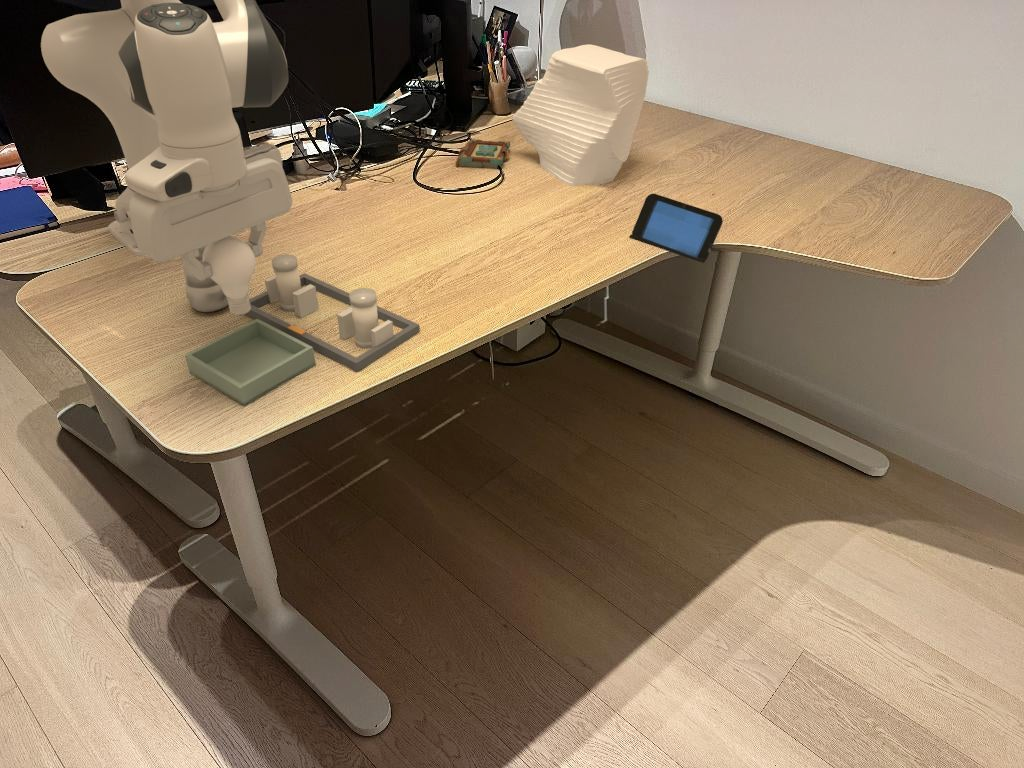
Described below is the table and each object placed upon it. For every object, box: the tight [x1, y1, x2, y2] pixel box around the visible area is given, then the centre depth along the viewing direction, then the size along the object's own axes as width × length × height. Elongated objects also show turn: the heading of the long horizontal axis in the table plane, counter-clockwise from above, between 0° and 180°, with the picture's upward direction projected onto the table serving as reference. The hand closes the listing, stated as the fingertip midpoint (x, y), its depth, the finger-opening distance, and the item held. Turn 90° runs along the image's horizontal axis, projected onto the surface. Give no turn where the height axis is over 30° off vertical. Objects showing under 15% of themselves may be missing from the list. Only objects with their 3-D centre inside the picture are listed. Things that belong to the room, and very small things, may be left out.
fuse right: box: [349, 287, 380, 349], centre depth 109 cm, size 4×4×8 cm
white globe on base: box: [270, 253, 302, 312], centre depth 117 cm, size 4×4×8 cm
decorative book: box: [455, 137, 511, 169], centre depth 169 cm, size 13×18×5 cm
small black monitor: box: [628, 193, 724, 264], centre depth 132 cm, size 16×13×9 cm
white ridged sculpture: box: [511, 43, 649, 187], centre depth 161 cm, size 21×27×26 cm
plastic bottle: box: [180, 245, 229, 313], centre depth 113 cm, size 6×7×20 cm
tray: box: [184, 319, 317, 407], centre depth 105 cm, size 12×12×3 cm
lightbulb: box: [203, 235, 257, 316], centre depth 97 cm, size 6×6×11 cm
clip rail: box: [245, 272, 421, 373], centre depth 115 cm, size 26×13×4 cm, turn 53°
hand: (230, 266), depth 96 cm, fingers closed on lightbulb, 6 cm apart
